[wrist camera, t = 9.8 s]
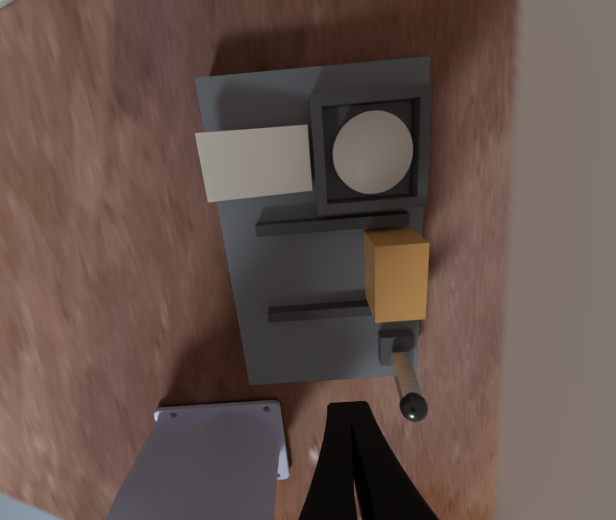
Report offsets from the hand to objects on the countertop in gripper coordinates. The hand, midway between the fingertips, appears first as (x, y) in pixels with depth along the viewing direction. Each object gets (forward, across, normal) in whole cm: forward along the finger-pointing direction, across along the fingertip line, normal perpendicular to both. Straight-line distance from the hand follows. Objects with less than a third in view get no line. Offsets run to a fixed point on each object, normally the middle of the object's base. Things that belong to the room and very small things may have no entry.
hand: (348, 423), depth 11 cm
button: (+8, -2, -9) cm, 12 cm away
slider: (+8, -3, -3) cm, 9 cm away
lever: (+7, -4, +3) cm, 9 cm away
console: (+10, 0, -4) cm, 11 cm away
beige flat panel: (+8, +3, -8) cm, 12 cm away
